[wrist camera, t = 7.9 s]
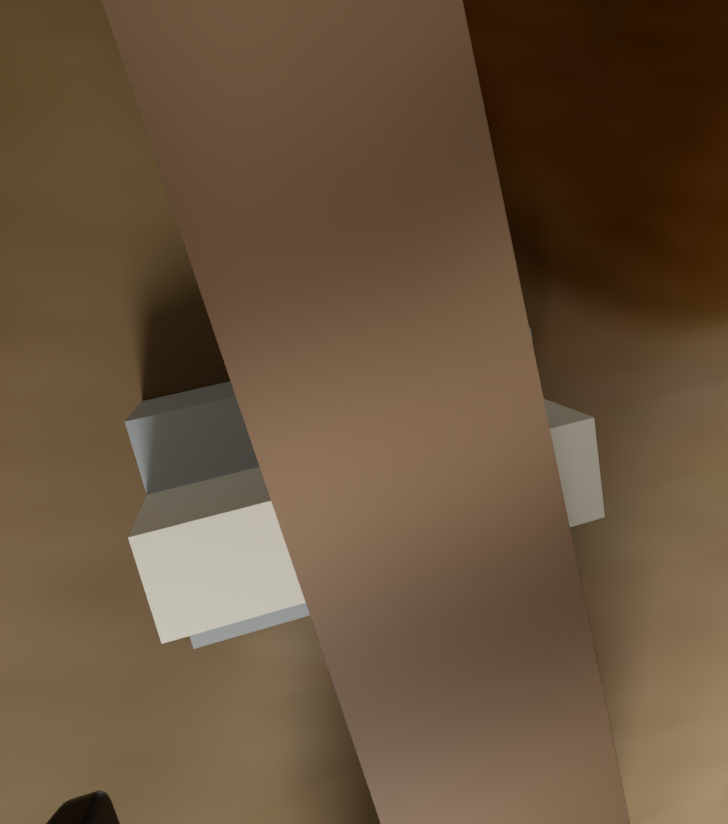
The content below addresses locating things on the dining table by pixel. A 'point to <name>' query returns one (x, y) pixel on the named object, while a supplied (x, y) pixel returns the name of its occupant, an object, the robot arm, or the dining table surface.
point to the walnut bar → (386, 386)
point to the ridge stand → (254, 514)
